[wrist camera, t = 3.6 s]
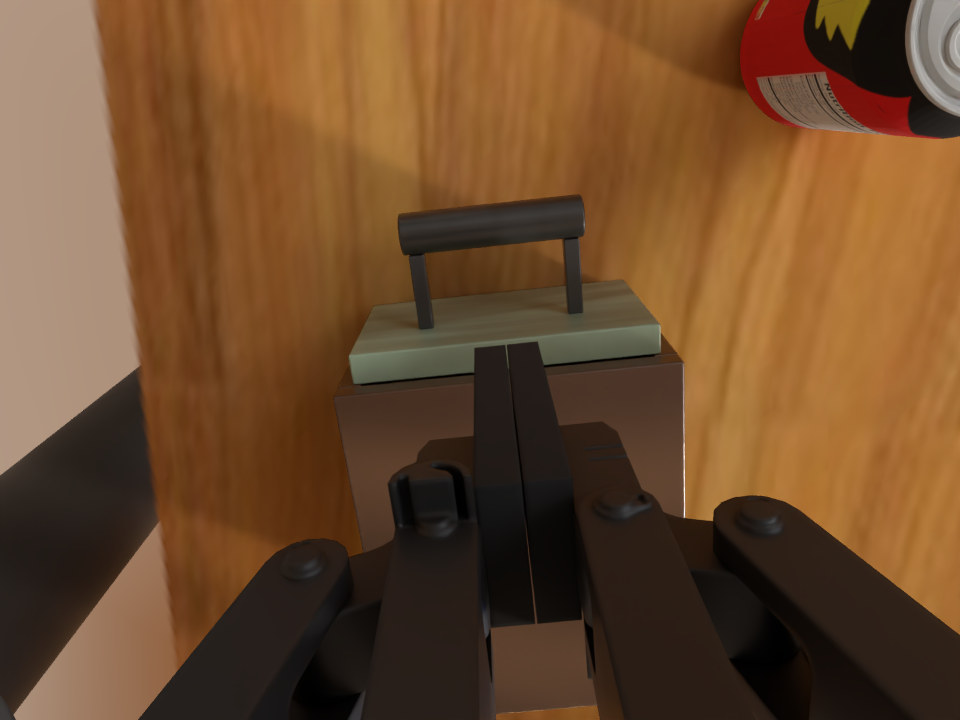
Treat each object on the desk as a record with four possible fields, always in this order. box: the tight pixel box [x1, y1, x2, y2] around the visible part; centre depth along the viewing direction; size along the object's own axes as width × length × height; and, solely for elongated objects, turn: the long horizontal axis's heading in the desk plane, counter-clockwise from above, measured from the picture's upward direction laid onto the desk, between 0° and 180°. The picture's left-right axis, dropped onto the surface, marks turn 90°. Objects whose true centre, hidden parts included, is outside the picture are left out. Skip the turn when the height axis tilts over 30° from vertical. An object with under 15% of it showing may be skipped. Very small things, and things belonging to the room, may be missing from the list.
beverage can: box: [740, 0, 960, 139], centre depth 24 cm, size 6×6×12 cm
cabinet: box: [333, 334, 685, 714], centre depth 32 cm, size 16×13×9 cm
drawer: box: [348, 194, 661, 384], centre depth 31 cm, size 19×12×7 cm, turn 6°
